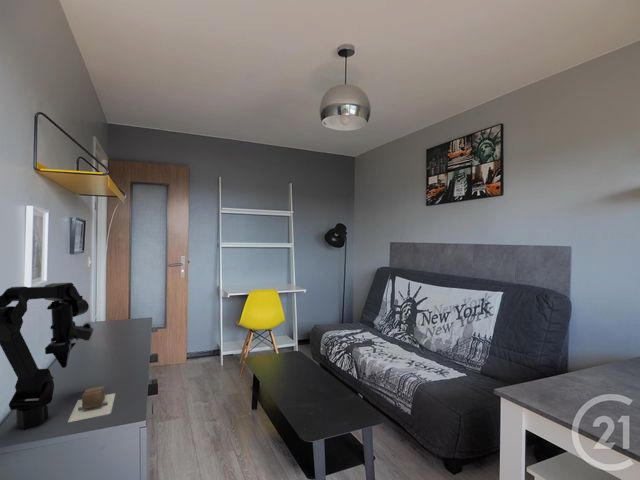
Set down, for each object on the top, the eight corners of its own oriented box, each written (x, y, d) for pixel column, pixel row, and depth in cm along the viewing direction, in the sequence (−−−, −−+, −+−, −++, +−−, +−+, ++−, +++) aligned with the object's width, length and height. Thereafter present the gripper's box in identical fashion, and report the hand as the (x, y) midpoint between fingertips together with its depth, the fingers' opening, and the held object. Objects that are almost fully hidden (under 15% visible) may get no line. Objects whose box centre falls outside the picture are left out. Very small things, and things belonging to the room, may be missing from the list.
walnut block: (100, 391, 116) (104, 385, 124) (82, 395, 114) (87, 388, 122) (101, 405, 116) (104, 397, 124) (82, 408, 114) (87, 401, 122)
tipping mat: (110, 416, 112) (110, 410, 112) (67, 425, 107) (67, 419, 107) (115, 395, 128) (115, 390, 128) (78, 402, 123) (77, 397, 123)
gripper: (86, 322, 117) (88, 371, 117) (94, 313, 134) (96, 355, 134) (43, 327, 113) (45, 378, 113) (58, 316, 130) (59, 360, 130)
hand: (64, 367), depth 123 cm, fingers closed
